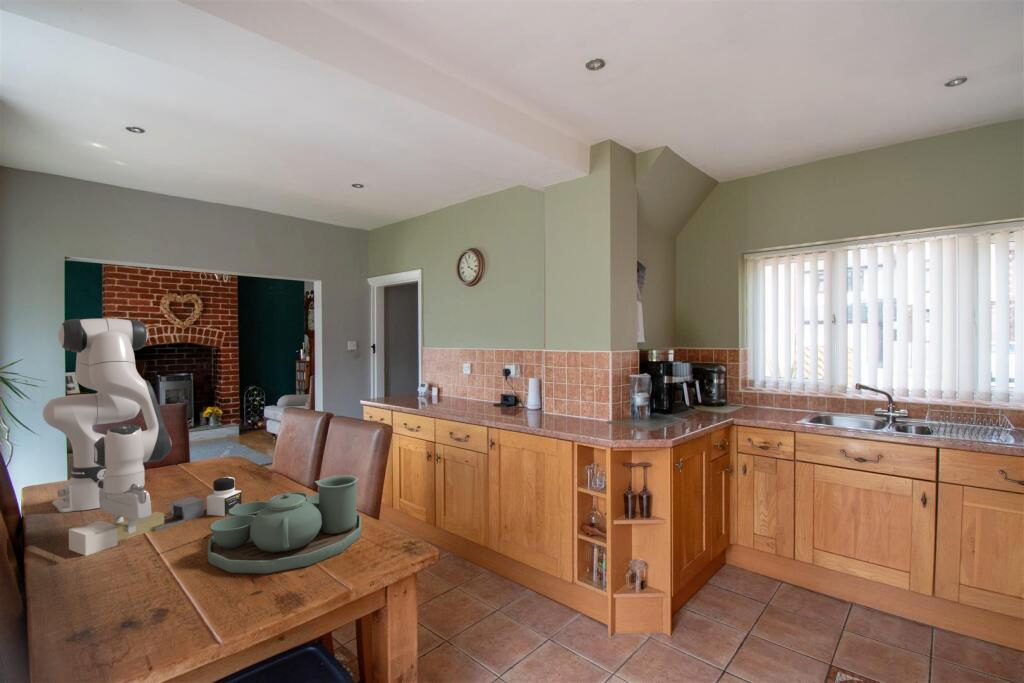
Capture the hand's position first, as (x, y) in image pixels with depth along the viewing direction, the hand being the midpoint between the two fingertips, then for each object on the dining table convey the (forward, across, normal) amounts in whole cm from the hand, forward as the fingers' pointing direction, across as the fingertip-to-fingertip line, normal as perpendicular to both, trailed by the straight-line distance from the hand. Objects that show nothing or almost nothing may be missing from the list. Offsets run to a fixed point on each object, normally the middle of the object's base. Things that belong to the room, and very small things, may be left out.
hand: (125, 530), depth 136 cm
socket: (+3, 0, +8) cm, 8 cm away
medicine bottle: (+3, -6, -25) cm, 26 cm away
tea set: (+3, -43, -20) cm, 47 cm away
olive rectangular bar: (+2, 0, -1) cm, 2 cm away
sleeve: (+3, 0, -13) cm, 13 cm away
